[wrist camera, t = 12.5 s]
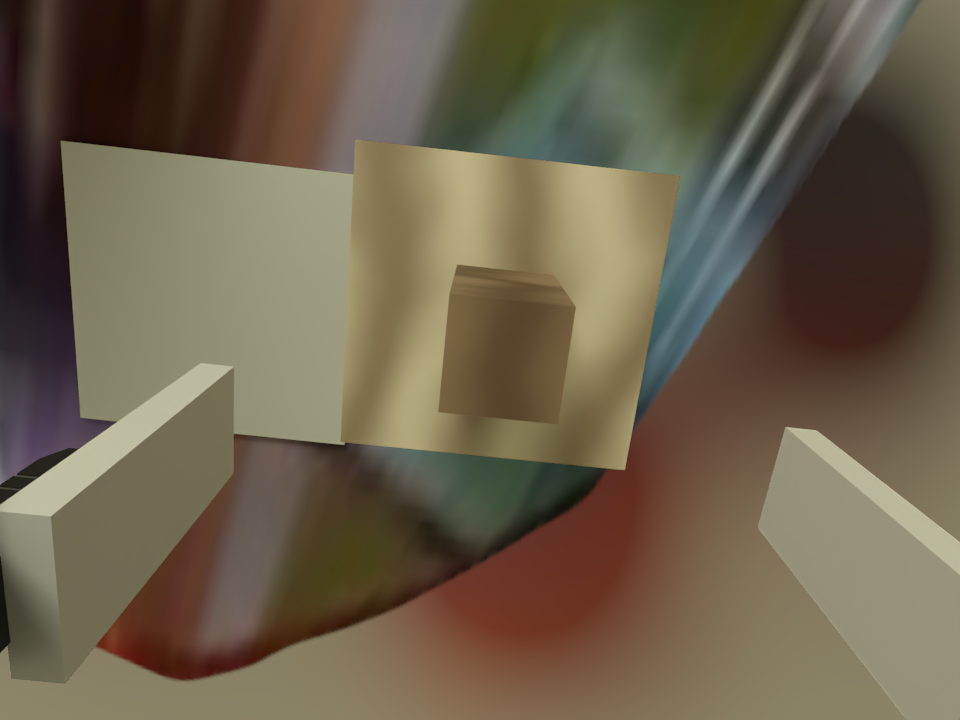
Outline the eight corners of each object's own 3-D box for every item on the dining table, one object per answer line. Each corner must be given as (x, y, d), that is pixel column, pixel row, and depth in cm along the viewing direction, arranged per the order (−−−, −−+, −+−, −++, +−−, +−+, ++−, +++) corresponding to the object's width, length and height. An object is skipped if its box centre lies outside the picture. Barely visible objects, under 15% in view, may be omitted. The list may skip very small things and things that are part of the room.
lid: (344, 434, 36) (301, 516, 28) (358, 140, 32) (313, 129, 23) (621, 462, 37) (663, 551, 28) (674, 175, 32) (744, 178, 24)
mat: (84, 415, 49) (80, 417, 48) (65, 141, 43) (60, 140, 43) (345, 442, 49) (344, 444, 49) (360, 175, 44) (359, 175, 43)
